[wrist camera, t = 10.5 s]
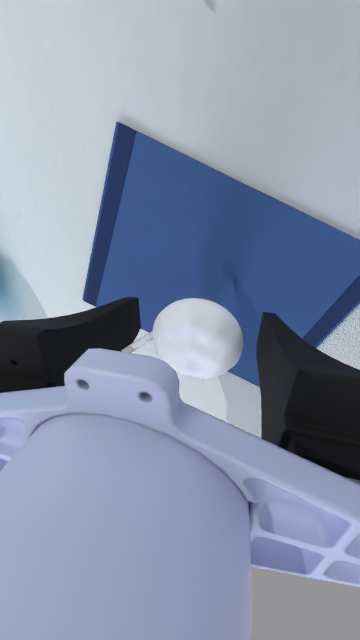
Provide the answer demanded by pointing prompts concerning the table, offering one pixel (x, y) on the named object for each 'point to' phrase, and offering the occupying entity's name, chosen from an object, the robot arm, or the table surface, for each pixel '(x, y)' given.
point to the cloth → (215, 246)
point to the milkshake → (199, 327)
